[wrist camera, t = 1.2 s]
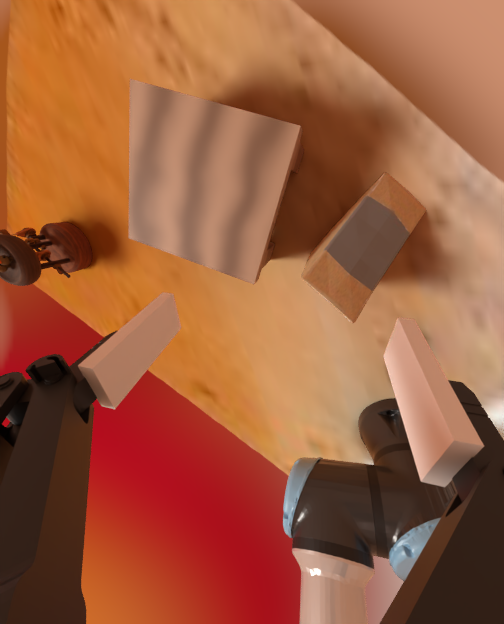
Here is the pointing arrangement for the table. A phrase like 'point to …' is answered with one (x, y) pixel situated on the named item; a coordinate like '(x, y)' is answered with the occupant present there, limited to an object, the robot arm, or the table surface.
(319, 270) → the sandwich container
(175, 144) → the stool
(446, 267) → the table surface
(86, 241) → the small figurine
